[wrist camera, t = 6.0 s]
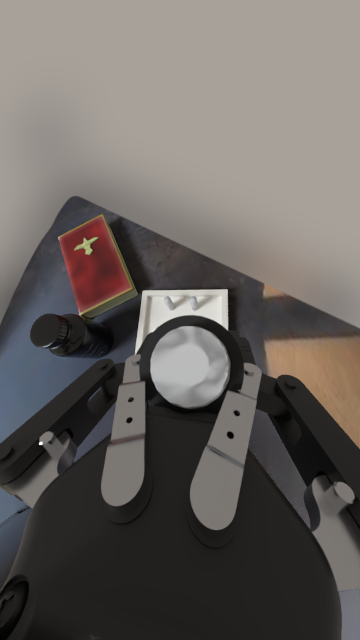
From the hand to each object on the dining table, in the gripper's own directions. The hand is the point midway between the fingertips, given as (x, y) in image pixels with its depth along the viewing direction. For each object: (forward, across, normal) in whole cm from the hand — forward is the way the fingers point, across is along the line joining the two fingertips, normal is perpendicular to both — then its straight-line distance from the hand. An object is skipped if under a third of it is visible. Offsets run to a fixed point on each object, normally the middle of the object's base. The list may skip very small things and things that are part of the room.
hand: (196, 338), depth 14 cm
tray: (+15, +4, +10) cm, 18 cm away
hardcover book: (+25, +24, +1) cm, 35 cm away
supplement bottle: (+14, +21, +12) cm, 28 cm away
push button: (+2, 0, +4) cm, 5 cm away
